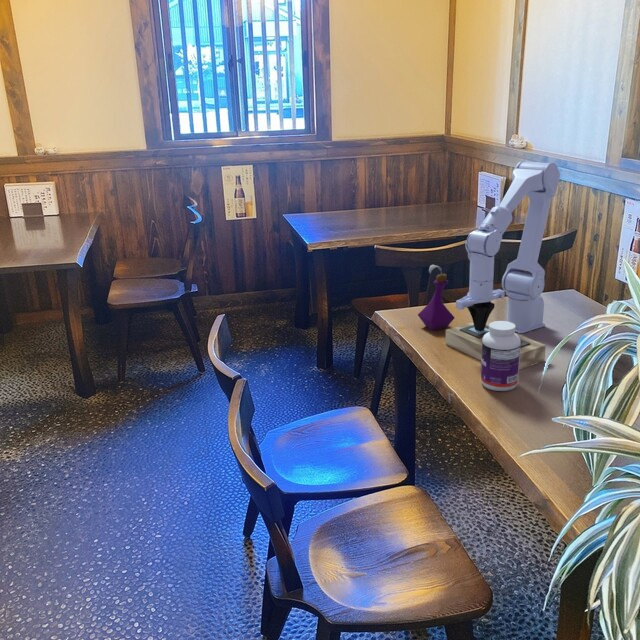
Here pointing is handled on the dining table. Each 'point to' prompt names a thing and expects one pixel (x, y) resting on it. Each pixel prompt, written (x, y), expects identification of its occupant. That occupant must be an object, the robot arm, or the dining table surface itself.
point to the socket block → (473, 345)
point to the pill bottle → (500, 357)
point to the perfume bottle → (437, 306)
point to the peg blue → (478, 331)
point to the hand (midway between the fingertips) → (479, 329)
